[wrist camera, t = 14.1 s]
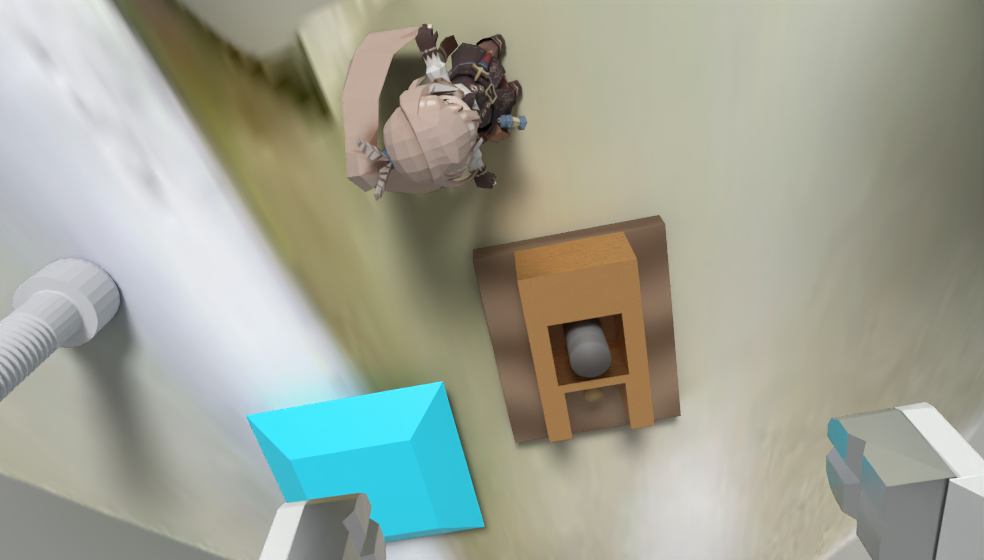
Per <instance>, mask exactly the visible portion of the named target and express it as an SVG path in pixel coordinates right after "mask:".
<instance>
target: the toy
mask: <svg viewBox="0 0 984 560" xmlns="http://www.w3.org/2000/svg"><path fill="white" fill-rule="evenodd" d="M427 27H428V28H427ZM415 37H416V38H415ZM413 38H415V40H416V42H417V45H418V47H419V49H420V51H421V53H422V60H423V58H424V60H425V63H426V65H427V69H426V74H427V76H428V77H429V79H430V80H431V84H426V85H421V86H419V84H420V83H421V81H422V80H424V79H425V78H426V77H425V76H423V77H421V78H418V79H416V80H414V81H413V82H412V84H411V85H410V87H409V89H408V90H406V91H404V92H403V93H402V94H401V95H400V107H398V108H397V109H396V110H395V111H394V113H393V114H392V115H391V117H390V118H389V119H388V121H387V122H386V124H385V126H384V129H383V138H384V147H385V150H383V151H380V150H379V149H378V148H377V147H376V144H377V136H378V125H379V96H380V93H381V90H382V87H383V84H384V81H385V78H386V75H387V72H388V69H389V66H390V63H391V60H392V57H393V54H395V53H396V52H397V51H398V50H400V49H401V48H402V47H403V46H405V45H406V44H407V43H408V42H410V41H411V40H412V39H413ZM437 38H438V33H437V31H436V33H435V34H434V35H433V26H432V24H429V25H426V24H423V25H422V26H418V27H411V28H403V29H396V30H389V31H382V32H375V33H369V35H368V36H367V37H366V38H365V40H364V41H363V42H362V44H361V45H360V46H359V48H358V49H357V50H356V52H355V54H354V56H353V58H352V60H351V62H350V65H349V69H348V73H347V77H346V81H345V84H344V88H343V92H342V96H341V101H342V110H343V120H344V129H345V139H346V172H347V178H348V179H349V180H350V181H352V182H353V183H354V184H356V185H357V186H358V187H360V188H361V189H362V190H364V191H365V192H366V191H368V190H370V189H373V188H376V191H375V198H376V200H378V199H379V198H380V197H381V196H382V194H383V192H384V191H390V192H401V193H412V194H425V193H429V192H432V191H435V190H438V189H440V188H441V187H442V186H443V187H450V188H457V187H460V186H462V185H463V184H465V183H467V182H469V181H471V180H472V179H473V177H474V180H475V183H476V185H477V187H482V188H490V189H491V188H492V187H493V186H494V185H496V182H495V181H494V180H493V179H492V178H496V176H495V174H492V173H490V172H488V171H487V170H486V168H485V166H484V164H483V162H482V160H481V156H482V153H481V151H480V150H479V147H480V145H481V144H483V143H484V142H486V141H487V140H490V141H493V142H496V143H497V142H499V141H501V140H503V139H505V138H506V137H508V136H510V134H509V133H508V130H507V129H508V128H511V127H518V129H519V130H524V129H525V126H526V124H527V121H526V118H525V116H519V117H518V118H517V117H513V116H512V115H510V113H511V110H512V106H513V105H515V104H516V101H517V97H518V96H519V95H520V94H522V86H521V84H520V83H519V81H518V80H515V81H512V82H508V83H507V79H506V77H505V75H504V74H505V70H504V68H503V67H502V65H501V63H500V61H499V59H500V53H501V51H502V50H503V49H505V48H506V45H505V39H504V38H503V36H502V35H501V34H497V35H494V36H492V37H490V38H484V39H482V40H480V41H479V42H478V43H476V45H472V44H466V43H462V44H461V45H460V46H459V47H458V44H457V42H456V40H455V38H454V35H453V36H449V37H446V38H445V39H444V40H443V41H442V42H441V44H440V46H439V49H438V50H437V48H436V41H437ZM457 47H458V49H457V50H456V51H455V52H454V53H453V54H452V55H451V58H452V69H451V70H450V71H449V72H448V73H447V69H446V65H445V63H446V61H447V59H448V56H449V55H450V54H451V53H452V52H453V51H454V50H455V49H456V48H457ZM468 166H469V167H470V170H471V172H470V171H469V172H470V173H471V175H470V176H469V177H468V178H467V179H465V180H462V181H459V182H457V181H451V180H453V179H456V178H459V177H461V175H462V173H463V172H464V170H465V168H467V167H468ZM492 185H493V186H492Z"/></svg>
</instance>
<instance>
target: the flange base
mask: <svg viewBox="0 0 984 560" xmlns="http://www.w3.org/2000/svg"><path fill="white" fill-rule="evenodd" d="M618 232H624V234H625V236H626V238H627V240H628V242H629V244H630V246H631V248H632V250H633V252H634V254H635V256H636V258H637V263H638V273H639V282H640V292H641V301H642V311H643V320H644V330H645V339H646V349H647V358H648V368H649V377H650V387H651V397H652V406H653V416H654V420H658V419H665V418H671V417H677V416H681V414H680V402H679V389H678V377H677V365H676V353H675V340H674V328H673V316H672V303H671V291H670V279H669V267H668V254H667V242H666V230H665V223H664V222H663V220H662V219H661V217H660V216H659V215H658V216H652V217H647V218H642V219H636V220H631V221H626V222H620V223H615V224H609V225H604V226H599V227H593V228H588V229H582V230H577V231H572V232H566V233H561V234H556V235H550V236H545V237H539V238H534V239H529V240H523V241H518V242H512V243H507V244H502V245H496V246H491V247H485V248H480V249H475V250H473V263H474V267H475V272H476V276H477V280H478V284H479V289H480V293H481V297H482V302H483V306H484V310H485V315H486V319H487V323H488V327H489V332H490V336H491V340H492V345H493V349H494V353H495V357H496V362H497V366H498V370H499V375H500V379H501V383H502V388H503V392H504V396H505V400H506V405H507V409H508V413H509V418H510V422H511V426H512V431H513V435H514V439H515V443H516V442H522V441H528V440H535V439H541V438H547V437H549V436H548V431H547V426H546V421H545V416H544V411H543V406H542V401H541V396H540V391H539V386H538V382H537V377H536V372H535V367H534V362H533V357H532V352H531V347H530V342H529V337H528V332H527V327H526V322H525V317H524V312H523V307H522V302H521V297H520V292H519V287H518V282H517V274H516V264H515V255H514V251H520V250H525V249H531V248H536V247H542V246H547V245H552V244H558V243H563V242H569V241H574V240H580V239H585V238H590V237H596V236H601V235H607V234H612V233H618ZM548 331H549V337H550V342H551V348H552V350H558V349H564V348H567V349H568V353H569V358H570V363H571V367H572V369H573V370H574V371H575V372H576V373H577V374H578V375H580V376H583V377H596V376H599V375H601V374H603V373H604V372H605V371H606V370H607V369H608V368H609V366H610V364H611V354H610V351H609V347H608V344H607V341H611V340H617V334H616V327H615V319H614V315H608V316H602V317H597V318H591V319H585V320H579V321H574V322H568V323H562V324H556V325H551V326H548ZM565 399H566V405H567V410H568V416H569V421H570V427H571V432H572V433H578V432H584V431H590V430H597V429H603V428H609V427H615V426H621V425H627V424H629V421H628V417H627V414H626V411H625V408H624V404H623V401H622V398H621V395H620V392H619V384H616V385H610V386H604V387H598V388H592V389H586V390H580V391H574V392H568V393H565Z"/></svg>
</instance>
